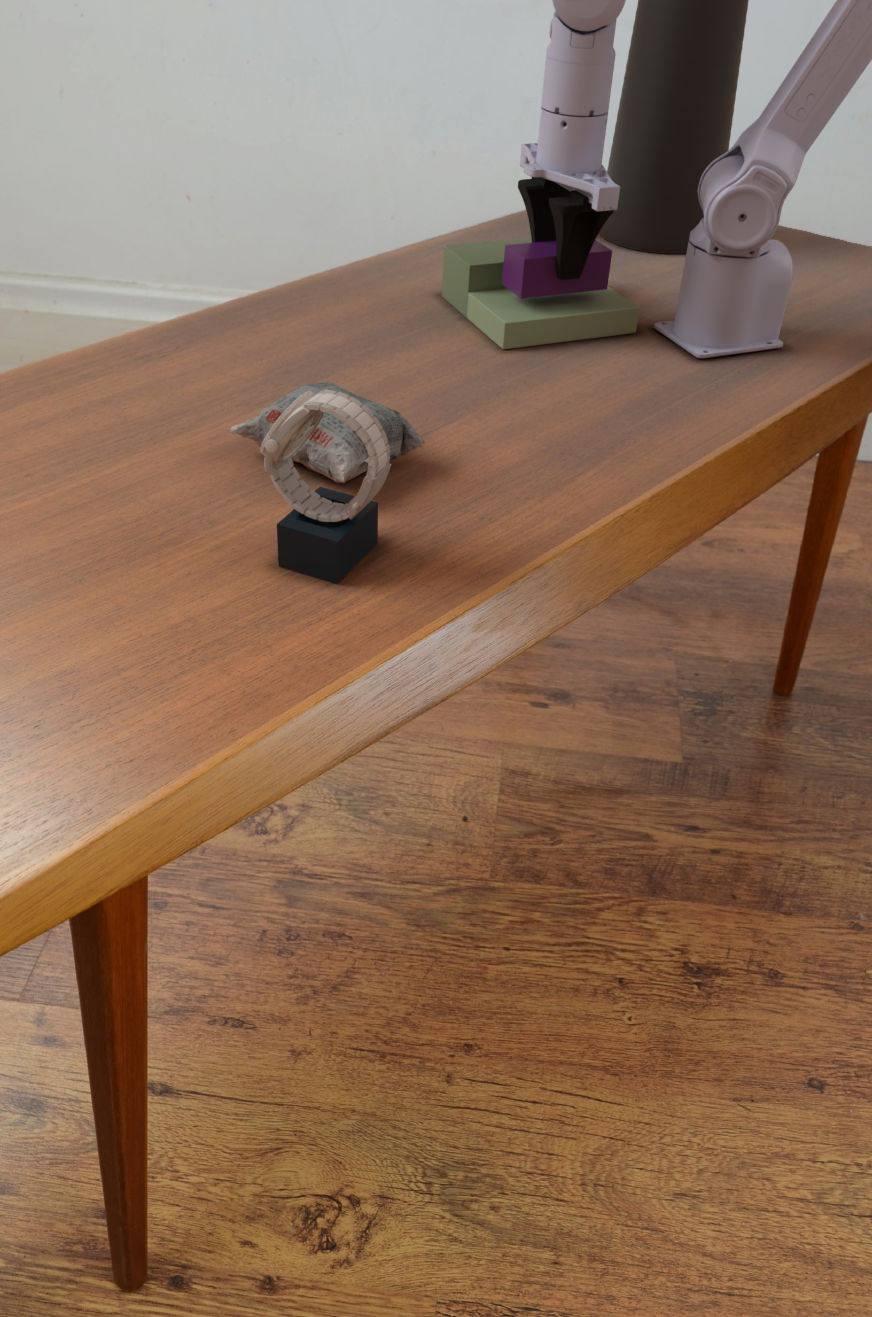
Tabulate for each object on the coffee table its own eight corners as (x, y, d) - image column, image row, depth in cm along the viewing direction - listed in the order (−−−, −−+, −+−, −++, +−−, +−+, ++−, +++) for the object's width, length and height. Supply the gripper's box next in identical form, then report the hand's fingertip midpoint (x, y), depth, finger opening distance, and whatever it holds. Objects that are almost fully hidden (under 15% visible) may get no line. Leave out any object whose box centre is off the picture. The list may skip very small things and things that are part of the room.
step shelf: (566, 282, 118) (571, 233, 115) (636, 332, 108) (644, 280, 105) (441, 296, 114) (443, 244, 111) (502, 349, 104) (507, 295, 101)
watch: (295, 520, 78) (290, 367, 72) (401, 550, 76) (406, 394, 69) (251, 558, 74) (241, 400, 68) (362, 592, 72) (363, 431, 65)
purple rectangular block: (586, 275, 110) (591, 236, 107) (607, 289, 107) (612, 250, 104) (501, 283, 106) (504, 244, 104) (520, 298, 104) (524, 258, 101)
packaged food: (343, 510, 80) (344, 445, 77) (229, 453, 85) (225, 390, 83) (426, 469, 85) (429, 407, 82) (313, 418, 91) (312, 359, 88)
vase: (593, 246, 128) (632, -58, 111) (600, 211, 139) (636, -71, 121) (717, 259, 127) (776, -48, 109) (714, 222, 137) (767, -62, 120)
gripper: (495, 92, 101) (484, 247, 110) (574, 132, 91) (555, 301, 99) (566, 89, 104) (549, 241, 112) (650, 127, 93) (625, 293, 101)
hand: (556, 269), depth 106 cm, fingers closed on purple rectangular block, 4 cm apart
